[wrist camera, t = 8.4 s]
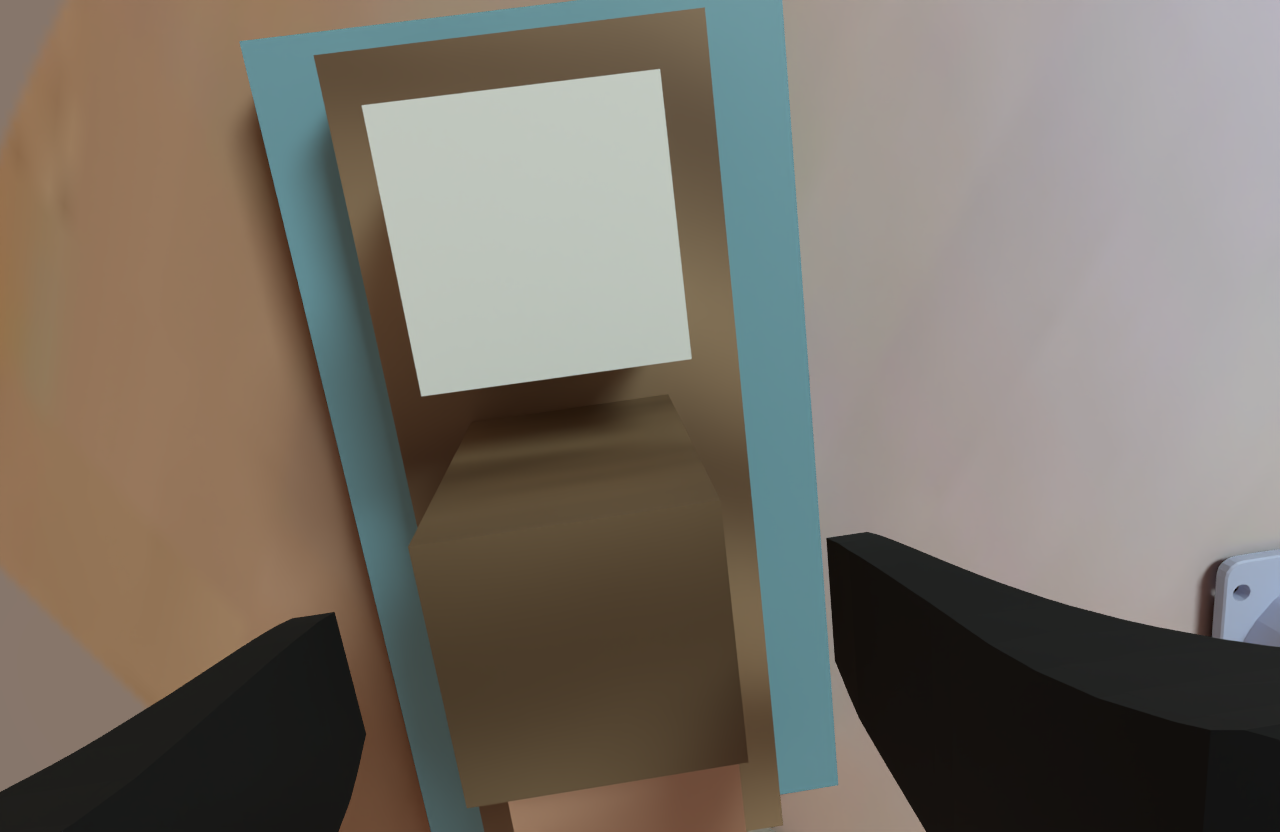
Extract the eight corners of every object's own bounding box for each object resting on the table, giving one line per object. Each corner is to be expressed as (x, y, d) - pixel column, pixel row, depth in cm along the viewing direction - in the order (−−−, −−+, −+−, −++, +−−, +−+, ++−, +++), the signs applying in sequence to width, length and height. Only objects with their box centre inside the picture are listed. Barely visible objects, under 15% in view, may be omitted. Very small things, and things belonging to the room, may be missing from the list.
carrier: (761, 762, 21) (875, 1100, 13) (502, 805, 20) (454, 1178, 13) (688, 34, 16) (795, -139, 8) (349, 76, 16) (117, -61, 8)
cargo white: (663, 322, 15) (691, 359, 11) (461, 349, 15) (421, 396, 11) (637, 107, 14) (660, 68, 10) (421, 134, 14) (361, 104, 10)
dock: (816, 737, 23) (838, 785, 21) (448, 796, 23) (435, 851, 21) (758, 1, 18) (780, -25, 16) (277, 60, 17) (239, 41, 15)
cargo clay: (718, 774, 18) (756, 926, 14) (549, 801, 18) (540, 963, 14) (701, 623, 17) (736, 743, 13) (520, 651, 17) (503, 780, 13)
